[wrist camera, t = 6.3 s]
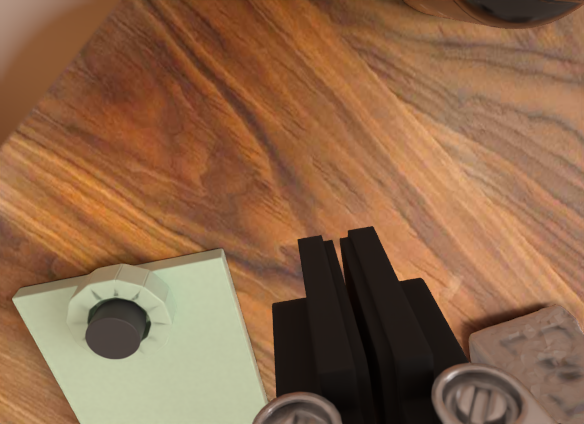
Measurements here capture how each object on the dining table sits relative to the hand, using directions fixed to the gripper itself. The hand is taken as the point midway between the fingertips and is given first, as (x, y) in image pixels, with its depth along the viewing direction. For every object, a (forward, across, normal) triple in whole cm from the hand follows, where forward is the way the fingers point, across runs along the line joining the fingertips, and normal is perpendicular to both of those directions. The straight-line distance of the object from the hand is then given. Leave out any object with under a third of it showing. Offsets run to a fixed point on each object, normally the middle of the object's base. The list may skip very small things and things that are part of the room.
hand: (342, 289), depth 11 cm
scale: (+17, +12, +16) cm, 26 cm away
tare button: (+14, +12, +10) cm, 21 cm away
